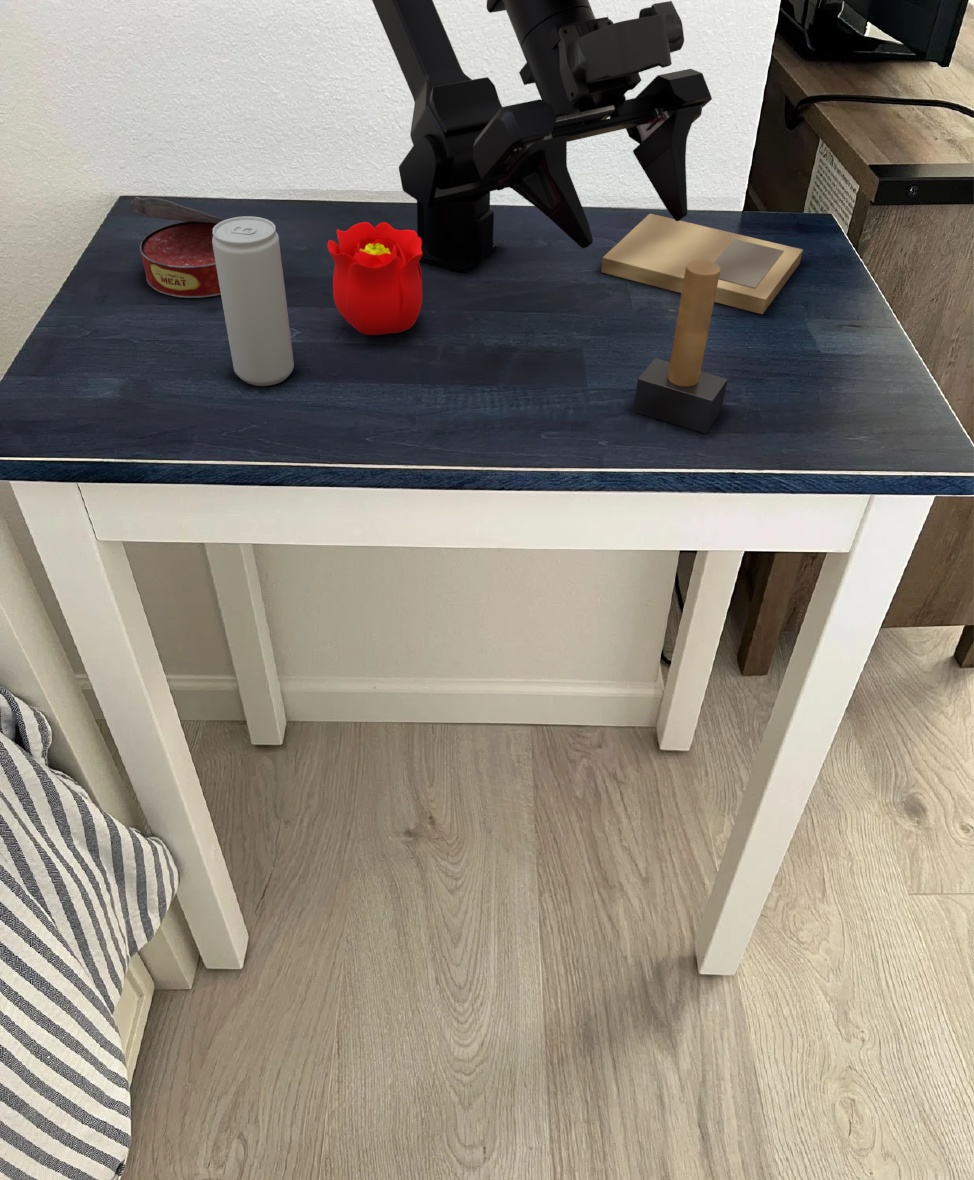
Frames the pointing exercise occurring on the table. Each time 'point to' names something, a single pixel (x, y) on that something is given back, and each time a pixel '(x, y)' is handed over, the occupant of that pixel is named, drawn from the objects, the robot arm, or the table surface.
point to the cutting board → (670, 245)
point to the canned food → (179, 250)
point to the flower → (377, 277)
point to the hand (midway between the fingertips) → (636, 231)
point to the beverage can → (254, 299)
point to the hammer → (686, 360)
